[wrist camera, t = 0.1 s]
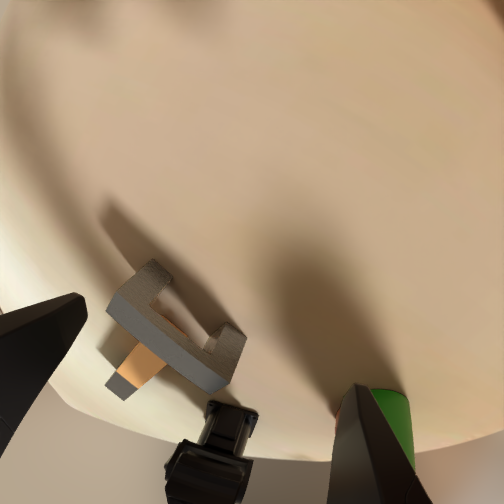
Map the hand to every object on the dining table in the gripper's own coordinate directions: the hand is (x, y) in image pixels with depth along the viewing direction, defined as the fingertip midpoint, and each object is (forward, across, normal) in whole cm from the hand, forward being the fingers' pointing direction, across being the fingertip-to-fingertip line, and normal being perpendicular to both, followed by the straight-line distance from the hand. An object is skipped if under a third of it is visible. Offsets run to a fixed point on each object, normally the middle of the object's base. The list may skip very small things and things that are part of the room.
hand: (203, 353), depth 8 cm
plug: (+15, +12, +21) cm, 28 cm away
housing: (+15, +6, +11) cm, 19 cm away
